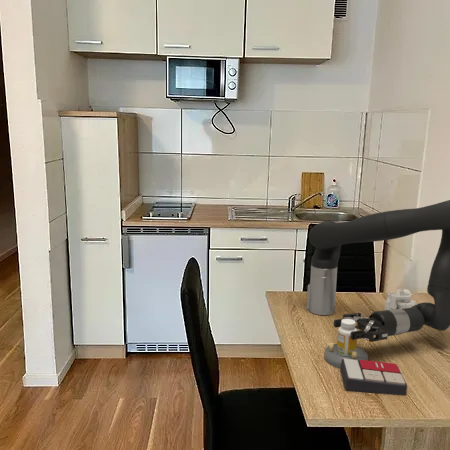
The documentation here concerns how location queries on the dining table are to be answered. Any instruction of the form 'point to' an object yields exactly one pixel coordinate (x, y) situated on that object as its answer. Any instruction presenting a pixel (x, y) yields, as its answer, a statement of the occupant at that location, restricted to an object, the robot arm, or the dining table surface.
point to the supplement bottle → (346, 338)
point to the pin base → (336, 358)
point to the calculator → (372, 377)
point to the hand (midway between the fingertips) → (342, 329)
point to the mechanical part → (399, 300)
